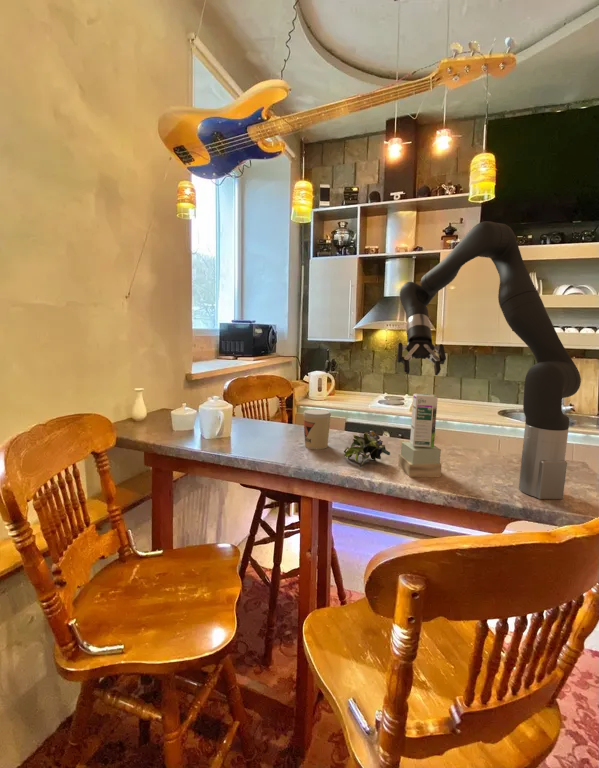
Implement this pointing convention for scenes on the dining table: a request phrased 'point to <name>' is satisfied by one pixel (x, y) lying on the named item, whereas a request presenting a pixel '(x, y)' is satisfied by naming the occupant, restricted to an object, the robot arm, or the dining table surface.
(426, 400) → the syrup box
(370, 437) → the passion flower
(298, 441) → the dining table surface
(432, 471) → the tower base
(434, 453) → the tower top
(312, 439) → the coffee cup
